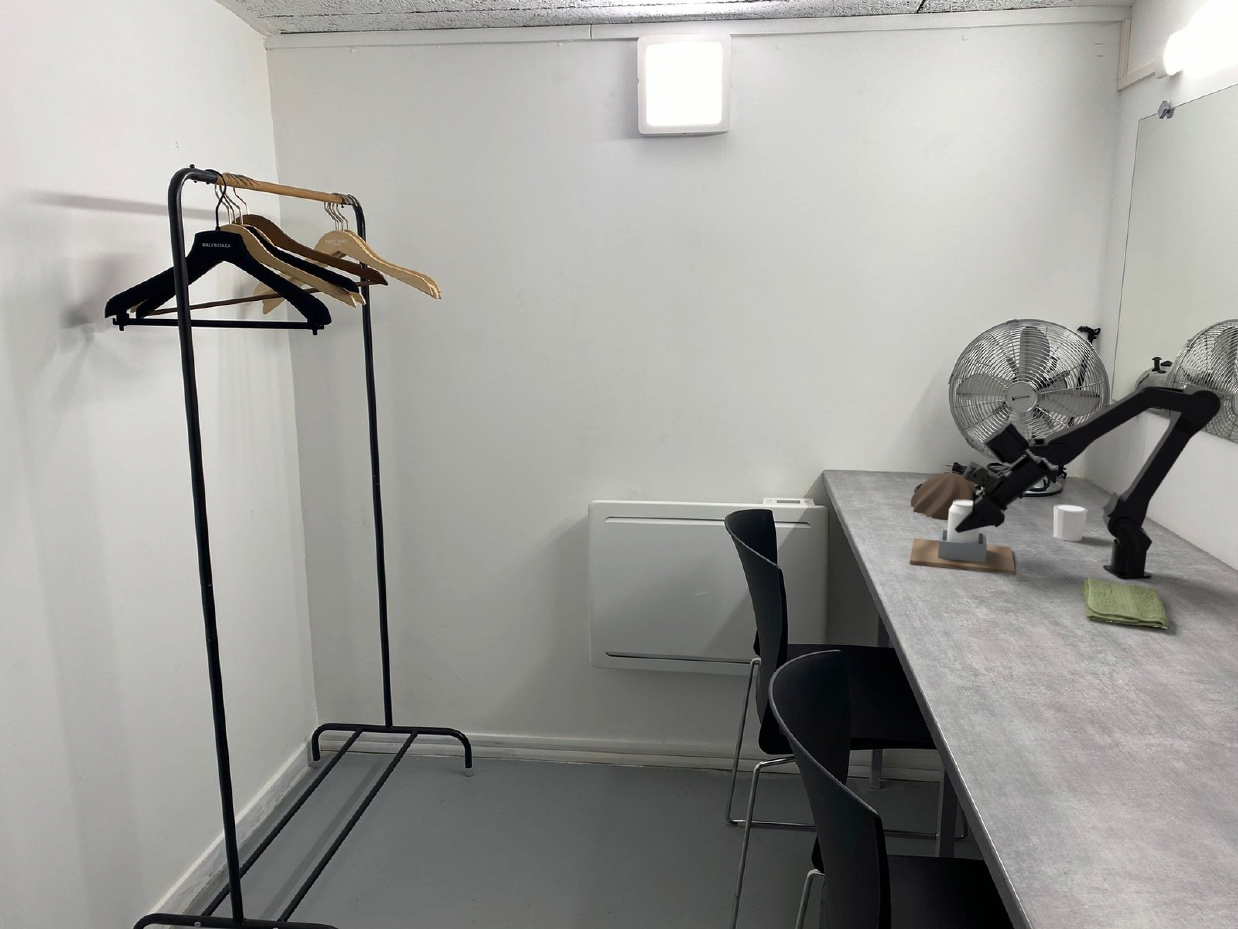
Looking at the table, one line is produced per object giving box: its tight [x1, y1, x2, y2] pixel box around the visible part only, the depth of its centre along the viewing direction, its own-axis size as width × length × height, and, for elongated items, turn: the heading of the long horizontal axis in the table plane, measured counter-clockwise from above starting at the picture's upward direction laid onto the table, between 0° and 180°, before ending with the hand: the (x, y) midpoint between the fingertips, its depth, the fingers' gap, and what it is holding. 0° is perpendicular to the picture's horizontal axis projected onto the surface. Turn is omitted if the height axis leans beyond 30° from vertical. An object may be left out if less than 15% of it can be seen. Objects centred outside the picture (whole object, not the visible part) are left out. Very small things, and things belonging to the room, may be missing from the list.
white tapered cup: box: [1053, 503, 1089, 542], centre depth 201 cm, size 7×7×7 cm
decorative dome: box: [910, 472, 979, 521], centre depth 223 cm, size 19×20×10 cm
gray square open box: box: [938, 528, 988, 562], centre depth 188 cm, size 9×9×4 cm
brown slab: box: [909, 537, 1016, 575], centre depth 189 cm, size 20×16×1 cm
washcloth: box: [1080, 578, 1171, 629], centre depth 159 cm, size 13×18×3 cm
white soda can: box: [947, 500, 980, 544], centre depth 187 cm, size 6×6×12 cm
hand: (956, 526), depth 188 cm, fingers closed on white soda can, 6 cm apart
